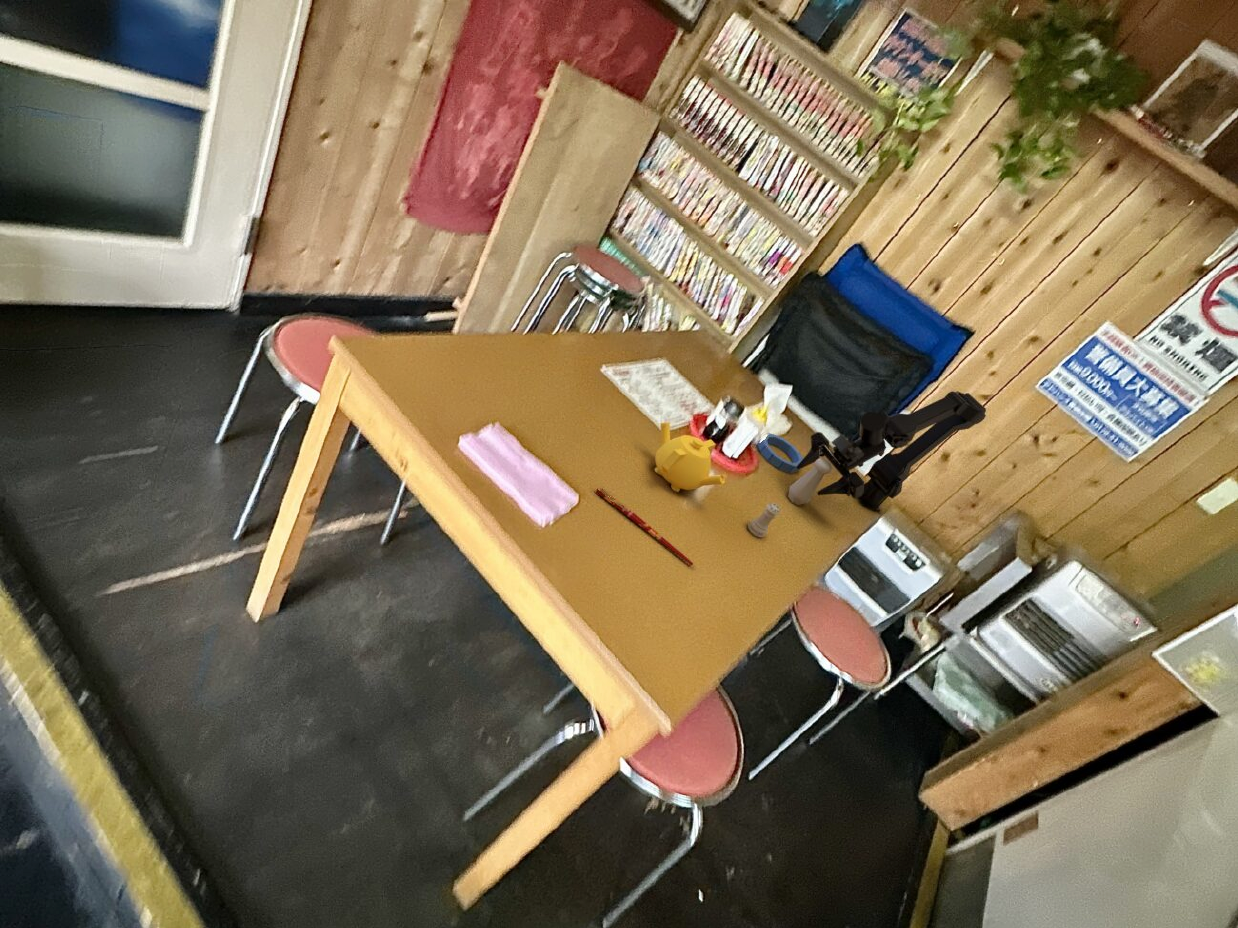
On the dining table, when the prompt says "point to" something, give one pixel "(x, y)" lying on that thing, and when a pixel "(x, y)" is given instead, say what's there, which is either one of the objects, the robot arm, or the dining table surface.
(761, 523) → the rook chess piece
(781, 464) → the tape roll
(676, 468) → the teapot
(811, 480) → the salt shaker
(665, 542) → the chopstick
